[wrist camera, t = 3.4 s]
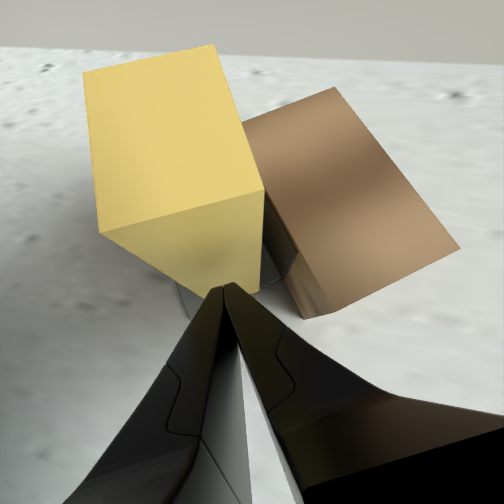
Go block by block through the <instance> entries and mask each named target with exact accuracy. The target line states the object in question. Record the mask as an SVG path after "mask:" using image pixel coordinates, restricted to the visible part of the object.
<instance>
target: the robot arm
mask: <svg viewBox="0 0 504 504" xmlns="http://www.w3.org/2000/svg"><path fill="white" fill-rule="evenodd" d="M238 346H239V347H238ZM239 348H240V351H241V354H242V357H243V360H244V363H245V365H246V368H247V371H248V374H249V376H250V379H251V382H252V385H253V387H254V390H255V393H256V396H257V398H258V401H259V404H260V407H261V409H262V412H263V415H264V418H265V420H266V423H267V426H268V429H269V431H270V434H271V437H272V440H273V442H274V445H275V448H276V451H277V453H278V456H279V459H280V462H281V464H282V467H283V470H284V473H285V475H286V478H287V481H288V484H289V486H290V489H291V492H292V495H293V497H294V500H295V503H296V504H504V416H503V415H498V414H492V413H487V412H482V411H476V410H471V409H465V408H460V407H455V406H449V405H444V404H438V403H433V402H428V401H422V400H417V399H411V398H406V397H401V396H398V395H395V394H392V393H389V392H387V391H384V390H382V389H380V388H378V387H376V386H374V385H373V384H371V383H369V382H368V381H366V380H364V379H363V378H361V377H360V376H358V375H356V374H355V373H353V372H352V371H350V370H349V369H347V368H345V367H344V366H342V365H341V364H339V363H338V362H336V361H334V360H333V359H331V358H330V357H328V356H327V355H325V354H324V353H322V352H321V351H319V350H318V349H316V348H315V347H313V346H312V345H310V344H309V343H307V342H306V341H305V340H304V339H302V338H301V337H300V336H299V335H297V334H296V333H295V332H294V331H292V330H291V329H290V328H289V327H287V326H286V325H285V324H284V323H283V322H282V321H280V320H279V319H278V318H277V317H276V316H275V315H273V314H272V313H271V312H270V311H269V310H267V309H266V308H265V307H264V306H263V305H261V304H260V303H259V302H258V301H257V300H256V299H254V298H253V297H252V296H251V295H250V294H248V293H247V292H246V291H245V290H244V289H243V288H241V287H240V286H239V285H238V284H237V283H235V282H231V283H227V284H224V285H223V286H217V287H214V288H211V289H210V291H209V292H208V294H207V296H206V297H205V299H204V301H203V302H202V304H201V306H200V307H199V309H198V310H197V312H196V314H195V315H194V317H193V319H192V320H191V322H190V324H189V325H188V327H187V329H186V330H185V332H184V334H183V335H182V337H181V339H180V340H179V342H178V344H177V345H176V347H175V348H174V350H173V352H172V353H171V355H170V357H169V358H168V360H167V362H166V365H164V366H163V368H162V370H161V371H160V373H159V375H158V376H157V378H156V379H155V381H154V383H153V384H152V386H151V387H150V389H149V390H148V392H147V393H146V395H145V396H144V398H143V399H142V401H141V402H140V404H139V405H138V406H137V408H136V409H135V411H134V412H133V413H132V415H131V416H130V418H129V419H128V420H127V422H126V423H125V424H124V426H123V427H122V429H121V430H120V431H119V433H118V434H117V435H116V437H115V438H114V440H113V441H112V442H111V444H110V445H109V446H108V448H107V449H106V451H105V452H104V453H103V455H102V456H101V457H100V459H99V460H98V461H97V463H96V464H95V466H94V467H93V468H92V470H91V471H90V472H89V474H88V475H87V476H86V478H85V479H84V480H83V481H82V483H81V484H80V485H79V486H78V487H77V488H76V490H75V491H74V492H73V493H72V494H71V495H70V496H69V497H68V498H67V499H66V500H65V501H64V502H63V503H62V504H252V494H251V482H250V471H249V459H248V448H247V436H246V424H245V413H244V401H243V390H242V378H241V366H240V355H239Z"/></svg>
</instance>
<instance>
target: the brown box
mask: <svg viewBox="0 0 504 504" xmlns="http://www.w3.org/2000/svg"><path fill="white" fill-rule="evenodd" d="M241 123H242V126H243V129H244V132H245V135H246V137H247V140H248V143H249V146H250V149H251V152H252V155H253V157H254V160H255V163H256V166H257V169H258V172H259V175H260V177H261V180H262V183H263V186H264V189H265V192H264V210H263V228H262V241H263V243H264V245H265V247H266V249H267V251H268V252H269V254H270V256H271V258H272V260H273V262H274V264H275V266H276V268H277V270H278V272H279V274H280V276H281V278H282V280H284V282H285V284H286V286H287V288H288V290H289V292H290V294H291V296H292V298H293V300H294V302H295V303H296V305H297V307H298V309H299V311H300V313H301V315H302V317H303V319H304V320H306V319H310V318H314V317H318V316H322V315H326V314H330V313H334V312H336V311H338V310H340V309H342V308H344V307H346V306H348V305H350V304H352V303H354V302H356V301H358V300H360V299H362V298H364V297H366V296H368V295H370V294H372V293H374V292H376V291H378V290H380V289H382V288H384V287H386V286H388V285H390V284H392V283H394V282H396V281H398V280H400V279H402V278H404V277H406V276H408V275H410V274H412V273H414V272H415V271H417V270H419V269H421V268H423V267H425V266H427V265H429V264H431V263H433V262H435V261H437V260H439V259H441V258H443V257H445V256H447V255H449V254H451V253H453V252H455V251H457V250H459V249H461V248H460V247H459V246H458V244H457V243H456V242H455V241H454V239H453V238H452V237H451V235H450V234H449V233H448V232H447V230H446V229H445V228H444V226H443V225H442V224H441V223H440V221H439V220H438V219H437V217H436V216H435V215H434V214H433V212H432V211H431V210H430V208H429V207H428V206H427V205H426V203H425V202H424V201H423V199H422V198H421V197H420V196H419V194H418V193H417V192H416V190H415V189H414V188H413V187H412V185H411V184H410V183H409V181H408V180H407V179H406V178H405V176H404V175H403V174H402V172H401V171H400V170H399V169H398V167H397V166H396V165H395V163H394V162H393V161H392V160H391V158H390V157H389V156H388V154H387V153H386V152H385V151H384V149H383V148H382V147H381V145H380V144H379V143H378V142H377V140H376V139H375V138H374V136H373V135H372V134H371V133H370V131H369V130H368V129H367V127H366V126H365V125H364V124H363V122H362V121H361V120H360V118H359V117H358V116H357V115H356V113H355V112H354V111H353V109H352V108H351V107H350V106H349V104H348V103H347V102H346V100H345V99H344V98H343V97H342V95H341V94H340V93H339V91H338V90H337V89H336V88H335V87H332V88H330V89H327V90H325V91H322V92H319V93H317V94H314V95H312V96H309V97H306V98H304V99H301V100H299V101H296V102H293V103H291V104H288V105H285V106H283V107H280V108H278V109H275V110H272V111H270V112H267V113H265V114H262V115H259V116H257V117H254V118H252V119H249V120H246V121H244V122H241Z"/></svg>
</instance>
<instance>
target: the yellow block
mask: <svg viewBox="0 0 504 504" xmlns="http://www.w3.org/2000/svg"><path fill="white" fill-rule="evenodd" d="M82 74H83V84H84V94H85V103H86V113H87V122H88V132H89V142H90V151H91V161H92V171H93V180H94V190H95V199H96V209H97V219H98V228H99V233H100V234H101V235H103V236H105V237H106V238H108V239H109V240H111V241H113V242H114V243H116V244H117V245H119V246H121V247H122V248H124V249H125V250H127V251H129V252H130V253H132V254H133V255H135V256H137V257H138V258H140V259H141V260H143V261H145V262H146V263H148V264H149V265H151V266H153V267H154V268H156V269H157V270H159V271H161V272H162V273H164V274H165V275H167V276H169V277H170V278H172V279H173V280H175V281H176V282H178V283H180V284H181V285H183V286H184V287H186V288H188V289H189V290H191V291H192V292H194V293H196V294H197V295H199V296H200V297H202V298H204V299H205V297H206V296H207V294H208V292H209V291H210V289H211V288H214V287H217V286H223V285H224V284H227V283H231V282H235V283H237V284H238V285H239V286H240V287H241V288H243V289H244V290H245V291H246V292H247V293H248V294H252V293H256V292H259V283H260V265H261V246H262V228H263V210H264V192H265V189H264V186H263V183H262V180H261V177H260V175H259V172H258V169H257V166H256V163H255V160H254V157H253V155H252V152H251V149H250V146H249V143H248V140H247V137H246V135H245V132H244V129H243V126H242V123H241V120H240V118H239V115H238V112H237V109H236V106H235V103H234V100H233V98H232V95H231V92H230V89H229V86H228V83H227V80H226V78H225V75H224V72H223V69H222V66H221V63H220V60H219V58H218V55H217V52H216V49H215V46H214V44H211V45H206V46H201V47H197V48H192V49H187V50H183V51H178V52H174V53H169V54H165V55H160V56H156V57H151V58H146V59H142V60H137V61H133V62H128V63H124V64H119V65H114V66H110V67H105V68H101V69H96V70H92V71H87V72H82Z"/></svg>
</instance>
